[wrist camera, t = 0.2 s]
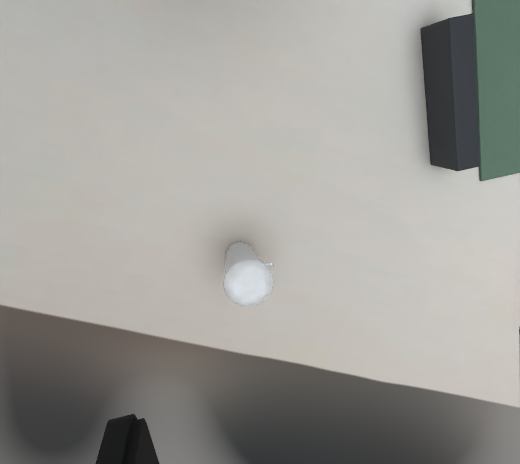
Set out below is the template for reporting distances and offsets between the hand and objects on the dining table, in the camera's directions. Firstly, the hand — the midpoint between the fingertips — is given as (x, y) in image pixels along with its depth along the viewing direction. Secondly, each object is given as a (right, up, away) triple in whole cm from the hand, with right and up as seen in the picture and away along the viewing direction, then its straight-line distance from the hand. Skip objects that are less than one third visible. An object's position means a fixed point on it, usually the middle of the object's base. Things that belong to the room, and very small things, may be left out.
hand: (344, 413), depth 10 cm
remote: (+17, +18, +33) cm, 41 cm away
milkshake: (-4, +2, +37) cm, 38 cm away
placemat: (+27, +21, +36) cm, 50 cm away
